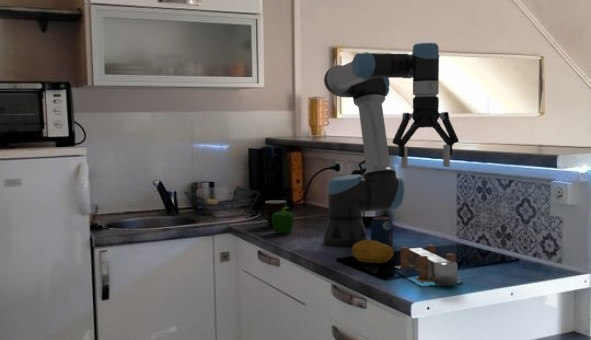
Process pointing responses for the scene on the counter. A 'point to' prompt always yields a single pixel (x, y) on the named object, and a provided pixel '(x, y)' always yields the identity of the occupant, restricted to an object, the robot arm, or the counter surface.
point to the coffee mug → (273, 209)
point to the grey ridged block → (435, 267)
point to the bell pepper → (283, 221)
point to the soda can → (382, 230)
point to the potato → (372, 251)
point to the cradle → (421, 263)
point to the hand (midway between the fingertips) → (425, 167)
